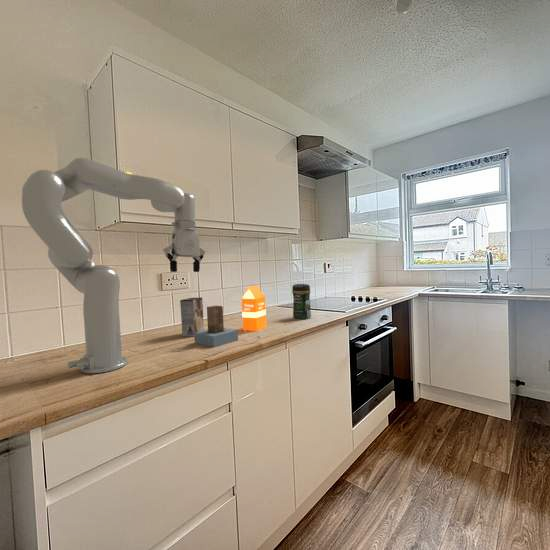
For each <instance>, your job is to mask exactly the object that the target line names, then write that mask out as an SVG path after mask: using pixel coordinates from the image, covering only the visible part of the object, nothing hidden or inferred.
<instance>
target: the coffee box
mask: <svg viewBox="0 0 550 550" xmlns="http://www.w3.org/2000/svg"><path fill="white" fill-rule="evenodd" d="M179 305H180V319H181V321H180V322H181V334H182V337H195V333H196V332H200V331H204V330H205V327H204V326H205V325H204V308H203V307H204V306H203V296H201V297H188V298H185V299H181V300H180V304H179Z"/></svg>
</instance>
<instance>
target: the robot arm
mask: <svg viewBox="0 0 550 550" xmlns="http://www.w3.org/2000/svg"><path fill="white" fill-rule="evenodd" d="M88 190H90V191H93V192H94V191H95V192H98V193H101V194H104V195H108V196H110V197H114V198H116V199H120V200H127V201H130V200H148V201H150V204H151V207H152V208H153V209H154V210H156V212H157V211H158V212H161V213H174V221H172V222H171V226H172V227H174V229H173V230H172V233H171V234H172V235H171V240H170V242H171V243H170V245H168V246H166V247H164V248H163V252H164V254H165V257H166V258H167V259H168V261H169V266H170V267H169V269H170V272H171V273H177V271H178V261H177V259H178V257H181V258H182V257H185V258H191V259H193V262H192V264H193V265H192V266H193V267H192V268H193V273H194V272H195V273H198V272H199V273H200V269H201V268H200V267H201V265H200V263H201V262H202V259H203V258H204V256H205V254H206V251H205V250H204V249H203V248H201V247H200V246H201V245H200V238H199V234H198V230H196V198H195V196H194V195H193V194H190V193H186V192H183V190H182V189H181V188H179V186H176V185H175V184H172V183H170V182H167V181H165V180H162V179H159V178H154V177H149V176H144V175H138V174H130V173H127V172H125V171H122V170H119V169H117V168H113V167H111V166H109V165H106V164H103V163H100V162H97V161H94V160H92V159H89V158H85V157H76V158H74V159H73V160H71V161H69V163H68V164H67V165H66V166H64V167H63V168H61V169H57V170H56V171H52V170H48V169H39V170H35V171H34V172H33V173H31V174H30V175H29V176H28V178H27V179H26V180H25V182H24V184H23V185H22V188H21V206H22V212H23V215H24V218H25V219H26V222H27V223H28V225H29V226H30V228H31V229H32V230H33V231H34V233H35V234H36V235H37V236H38V237H39V239H40V240H41V241H42V242H43V243H44V244H45V245H46V247H47V248H48V249H47V257H48V258H49V261H50V262H51V264H52V265H53V266H54V267H55V268H56V270H57V271H58V272H59V273H60V274H61V275H62V276H63V277H64V278H65V279H66V280H67V281H68V283H69V284H71V285H72V286H73V287H74V288H75V289H76V290H77V291H78V292H79V293H82V294H83V307H82V308H83V309H82V313H83V322H84V323H83V324H84V338H85V339H84V340H85V354H82V357H81V358H79V359H75V360H71V361H68V362H67V368H68V369H73V368H76V369H79V368H80V371H81V373H84V374H101V373H106V372H111V371H114V370H119V369H120V368H123V367H124V366H127V364H128V361H129V360H128V358H127V357H124V356H123V355H122V353H123V352H122V340H121V339H122V337H121V336H122V335H121V323H120V322H121V320H120V319H121V318H120V306H119V305H120V304H119V302H120V301H119V300H120V298H119V297H120V287H121V286H120V285H121V284H120V283H121V282H120V281H121V280H120V277H119V274H118V273H117V272H116V270H114V269H113V268H112V267H111V266H109V265H104V264H97V263H96V262H95V261H94V260H93V255H94V253H93V252H94V251H93V248H92V246H91V244H89V242H88V241H87V240H86V239H85V237H83V235H81V233H80V232H79V231H78V230H77V228H76V227H75V226H74V225H73V224H72V223H71V221H70V220H69V218H68V217H67V215H66V214H65V213H64V210H63V207H62V202H66V201H68V200H70V199H73V198H75V197H77V196H78V195H81V194H83V193H85V192H87V191H88Z"/></svg>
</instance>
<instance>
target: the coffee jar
mask: <svg viewBox="0 0 550 550" xmlns="http://www.w3.org/2000/svg"><path fill="white" fill-rule="evenodd" d="M310 287H311V286H310V285H309V283H308V284H305V283H297V284H293V285H292V287H291V288H292V291H291V293H292V297H293V304H292V305H293V308H292V309H293V311H292V312H293V313H292V316H293V318H294V319H299V320H305V319H310V318H312V310H311V309H312V308H311V301H310V299H311V298H310V297H311V296H310V294H311V288H310Z"/></svg>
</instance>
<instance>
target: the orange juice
mask: <svg viewBox="0 0 550 550" xmlns="http://www.w3.org/2000/svg"><path fill="white" fill-rule="evenodd" d="M266 308H267V307H266V297H265V295H264V294H263V292H262V290H261V289H260V287H259V285H251V286H247V288H246V290H245V292H244V294H243V295H242V298H241V315H242V317H241V318H242V330H243V331H246V330H249V331H248V332H259V331H261V330H263V328H264V329H266V328H267V310H266ZM258 330H259V331H258Z"/></svg>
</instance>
